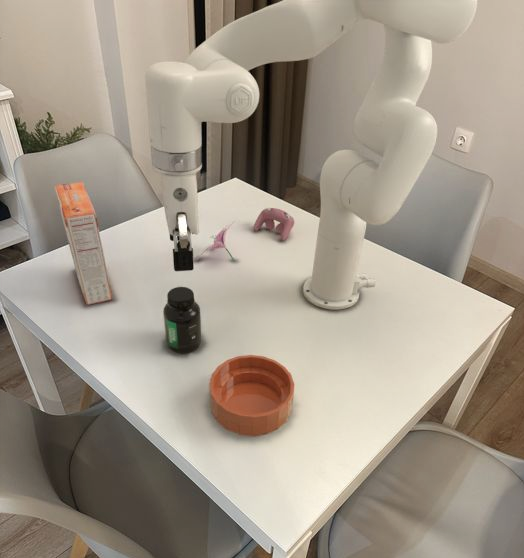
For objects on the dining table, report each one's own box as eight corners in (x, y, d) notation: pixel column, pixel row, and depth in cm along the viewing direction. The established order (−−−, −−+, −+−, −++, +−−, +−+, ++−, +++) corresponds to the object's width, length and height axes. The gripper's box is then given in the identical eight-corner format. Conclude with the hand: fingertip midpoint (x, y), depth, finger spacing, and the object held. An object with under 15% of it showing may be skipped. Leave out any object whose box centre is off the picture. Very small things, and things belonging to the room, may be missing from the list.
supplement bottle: (174, 359, 98) (169, 309, 90) (161, 338, 102) (155, 288, 94) (207, 348, 101) (205, 299, 92) (193, 328, 105) (190, 279, 97)
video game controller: (290, 241, 135) (299, 215, 132) (283, 241, 131) (291, 214, 128) (259, 230, 138) (266, 204, 136) (250, 229, 134) (258, 202, 132)
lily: (234, 245, 131) (216, 212, 126) (260, 248, 122) (242, 213, 117) (200, 273, 127) (179, 241, 122) (224, 279, 118) (203, 245, 113)
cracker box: (73, 271, 117) (53, 184, 103) (100, 266, 119) (83, 180, 105) (84, 306, 108) (63, 216, 94) (113, 300, 110) (97, 211, 96)
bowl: (281, 372, 97) (283, 351, 93) (300, 432, 87) (303, 410, 83) (205, 381, 94) (204, 359, 90) (216, 443, 84) (215, 421, 80)
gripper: (208, 180, 72) (209, 281, 84) (195, 135, 84) (197, 228, 96) (154, 181, 71) (162, 284, 82) (149, 135, 83) (156, 230, 94)
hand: (181, 254), depth 89 cm, fingers open, 9 cm apart
